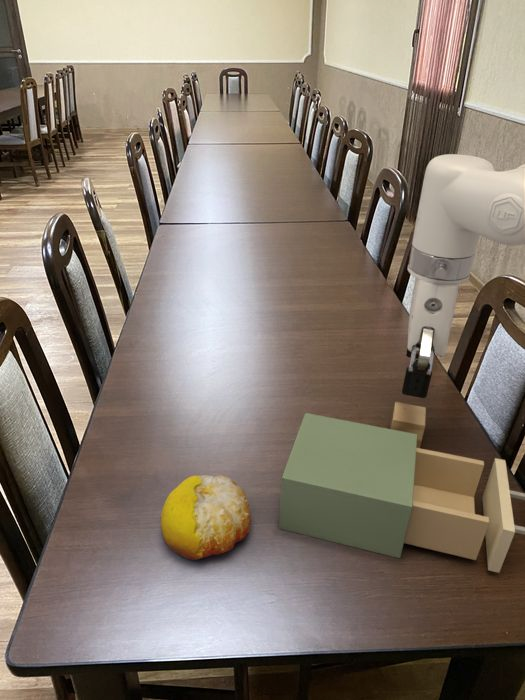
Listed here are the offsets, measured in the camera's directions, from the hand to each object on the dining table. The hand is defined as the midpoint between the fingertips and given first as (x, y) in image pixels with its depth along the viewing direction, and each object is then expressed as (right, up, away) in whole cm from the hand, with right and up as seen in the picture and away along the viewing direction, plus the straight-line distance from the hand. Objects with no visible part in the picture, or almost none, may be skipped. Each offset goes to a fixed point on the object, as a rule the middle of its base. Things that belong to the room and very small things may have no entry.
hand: (415, 375), depth 75 cm
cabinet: (-11, -16, -6) cm, 21 cm away
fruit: (-28, -18, -10) cm, 35 cm away
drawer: (+3, -18, -10) cm, 21 cm away
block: (0, -10, +6) cm, 11 cm away
